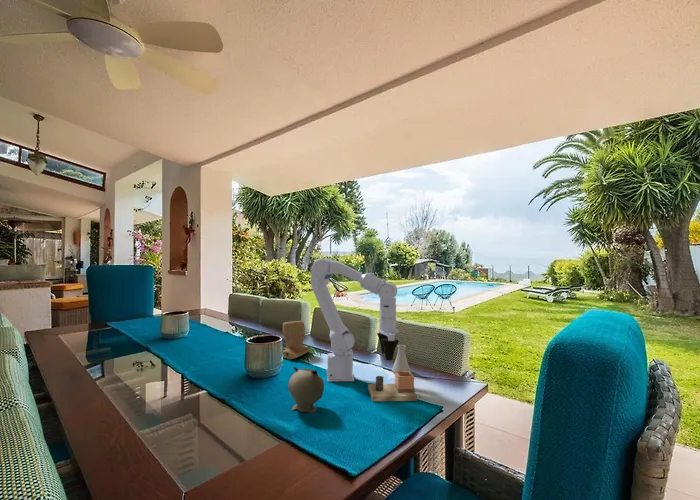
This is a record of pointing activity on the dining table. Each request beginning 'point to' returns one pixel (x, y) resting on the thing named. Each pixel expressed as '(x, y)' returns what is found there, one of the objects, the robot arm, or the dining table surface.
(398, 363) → the flask
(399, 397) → the pin board
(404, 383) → the sleeve
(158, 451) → the dining table surface
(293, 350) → the tan wooden stand
